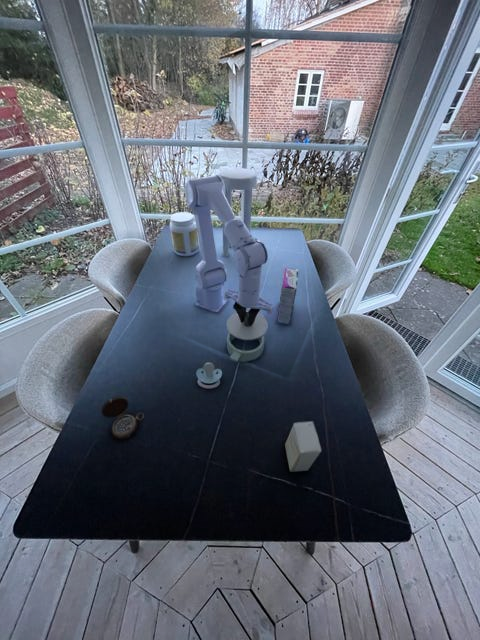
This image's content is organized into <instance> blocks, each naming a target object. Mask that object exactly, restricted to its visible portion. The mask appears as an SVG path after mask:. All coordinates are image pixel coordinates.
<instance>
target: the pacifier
mask: <svg viewBox="0 0 480 640" xmlns="http://www.w3.org/2000/svg"><path fill="white" fill-rule="evenodd" d="M202 372H203V373H202ZM222 375H223V371H222V370H221V369H220V368H215V365H214V364H213V363H212V362H206V363H204V365H203V367H201V368H198V369H197V370H196V378H197V379H198V380H197V385H198V386H199V387H201V388H203V389H215V388H217V387H218V386H220V384H221V380H220V379H221V378H222Z"/></svg>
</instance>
